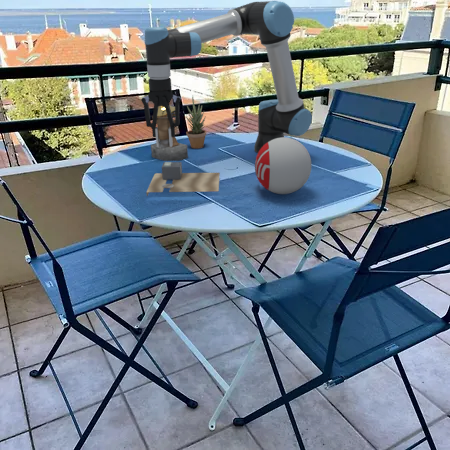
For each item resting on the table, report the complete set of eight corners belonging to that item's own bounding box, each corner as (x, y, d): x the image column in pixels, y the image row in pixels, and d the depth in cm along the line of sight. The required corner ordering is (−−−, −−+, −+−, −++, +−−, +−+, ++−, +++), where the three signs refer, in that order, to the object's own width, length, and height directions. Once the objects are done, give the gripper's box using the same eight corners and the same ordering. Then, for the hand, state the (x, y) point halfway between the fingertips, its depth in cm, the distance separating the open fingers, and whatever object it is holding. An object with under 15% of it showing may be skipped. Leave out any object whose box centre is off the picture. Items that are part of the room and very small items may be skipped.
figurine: (189, 157, 203) (186, 101, 192) (171, 163, 196) (167, 105, 185) (169, 151, 212) (165, 97, 201) (151, 157, 204) (145, 101, 193)
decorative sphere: (253, 182, 173) (254, 131, 164) (305, 182, 172) (309, 130, 163) (255, 203, 155) (256, 146, 146) (313, 202, 154) (317, 146, 145)
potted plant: (189, 143, 223) (186, 92, 212) (208, 144, 222) (206, 92, 211) (185, 149, 214) (182, 96, 203) (204, 150, 213) (202, 96, 202)
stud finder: (182, 174, 178) (181, 161, 176) (180, 179, 173) (179, 166, 171) (164, 174, 178) (163, 161, 176) (162, 179, 173) (161, 166, 171)
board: (219, 176, 180) (219, 172, 179) (218, 195, 162) (218, 191, 161) (155, 176, 180) (154, 173, 180) (146, 196, 162) (146, 192, 162)
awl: (171, 144, 162) (169, 117, 158) (169, 147, 159) (167, 119, 154) (160, 144, 162) (157, 117, 158) (158, 148, 159) (156, 119, 154)
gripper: (185, 75, 153) (189, 142, 164) (136, 76, 154) (142, 143, 164) (183, 78, 147) (187, 148, 157) (131, 79, 147) (139, 149, 157)
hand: (164, 145), depth 160 cm, fingers closed on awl, 4 cm apart
